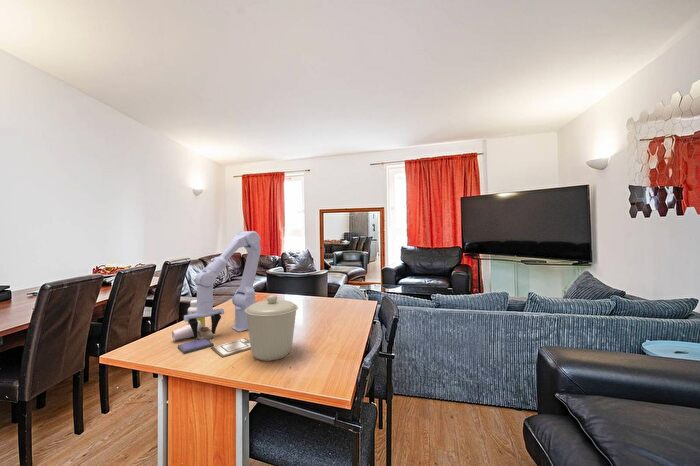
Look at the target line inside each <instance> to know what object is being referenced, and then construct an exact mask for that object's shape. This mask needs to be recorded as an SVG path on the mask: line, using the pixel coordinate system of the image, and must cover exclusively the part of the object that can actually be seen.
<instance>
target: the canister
mask: <svg viewBox="0 0 700 466" xmlns="http://www.w3.org/2000/svg"><path fill="white" fill-rule="evenodd" d="M277 296H278V295H276V294H270V295H267V297H266V300H262V301H261V300H260V301H257V302H255V303H254V304H252V305H250V306H249V307H247V308H246V309H245V313H246V314H247V321H248V336H249V340H250V346H251V349H250V351H251V353H252V356H253V357H254V358H255V359H257V360H260V361H276V360H279V359H282V358H285V357H286V356H287V355H289V353H290V352H291V349H292V346H293V340H294V332H295V325H296V324H295V323H296V316H297V310H298V309H299V306H298V304H296V303H294V302H292V301H289V300H285V299H278V297H277Z"/></svg>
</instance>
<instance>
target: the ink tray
mask: <svg viewBox="0 0 700 466" xmlns="http://www.w3.org/2000/svg"><path fill="white" fill-rule="evenodd" d="M211 347H214V342H212V341H211V339H210V340H208V339H207V338H204V339H200V340H197V339H196V340H192V341H188V342H184V343H181V344H177V349H178V350H179V351H180V352H181V353H182V354H183V355H186V354H190V353H193V352H194V353H195V352H197V351H200V350H204V349H210V348H211Z"/></svg>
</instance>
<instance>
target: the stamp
mask: <svg viewBox="0 0 700 466" xmlns="http://www.w3.org/2000/svg"><path fill="white" fill-rule="evenodd" d="M197 335H198V336H197V338H196V340H200V339H204V338H207V339H208V340H210V341H211V340H212V339H213V336H212V331H211V328H210V327H207V326H205V327H202V328H201V330H197Z"/></svg>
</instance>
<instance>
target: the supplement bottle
mask: <svg viewBox="0 0 700 466" xmlns="http://www.w3.org/2000/svg"><path fill="white" fill-rule="evenodd" d="M189 305H190V306H189V307H188V308H187V315H189V314H193V313H196V312H197V299H193V300H191V301H190V303H189ZM196 320H197V321H200V322H201V324H202V327H206V317H204V318H199V319H196ZM187 325H189V322H188V321H187Z"/></svg>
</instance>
